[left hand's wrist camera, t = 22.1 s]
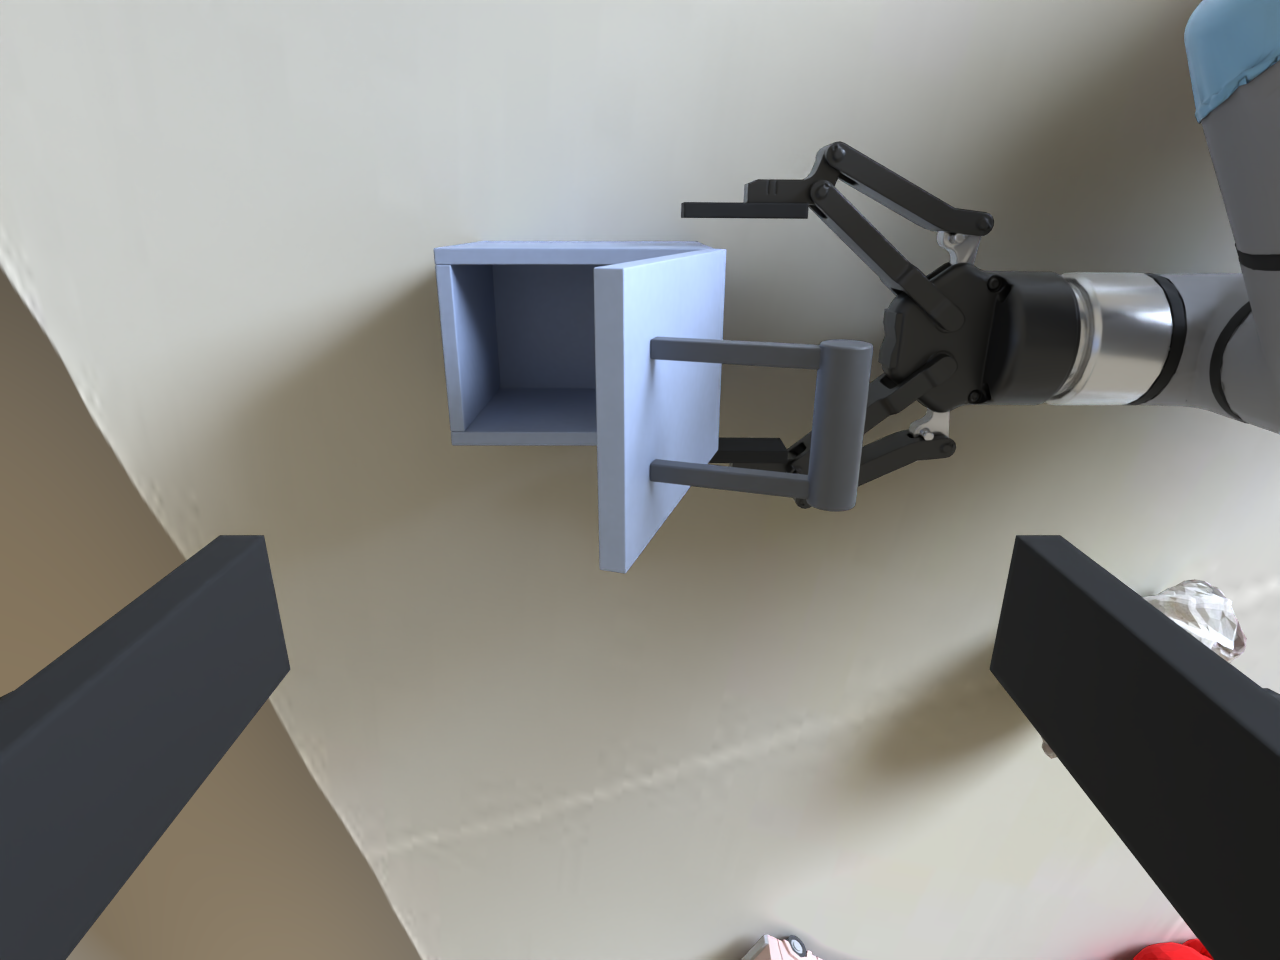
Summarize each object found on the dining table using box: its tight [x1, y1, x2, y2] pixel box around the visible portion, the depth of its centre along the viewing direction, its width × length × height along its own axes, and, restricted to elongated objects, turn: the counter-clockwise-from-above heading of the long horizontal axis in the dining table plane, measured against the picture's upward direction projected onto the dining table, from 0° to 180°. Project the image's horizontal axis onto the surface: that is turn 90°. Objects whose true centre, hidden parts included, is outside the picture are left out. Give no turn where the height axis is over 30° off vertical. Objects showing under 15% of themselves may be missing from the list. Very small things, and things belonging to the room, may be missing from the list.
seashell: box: [1041, 580, 1247, 758], centre depth 51 cm, size 10×15×10 cm
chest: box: [434, 241, 714, 445], centre depth 42 cm, size 14×10×11 cm
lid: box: [594, 249, 873, 573], centre depth 29 cm, size 15×10×8 cm
